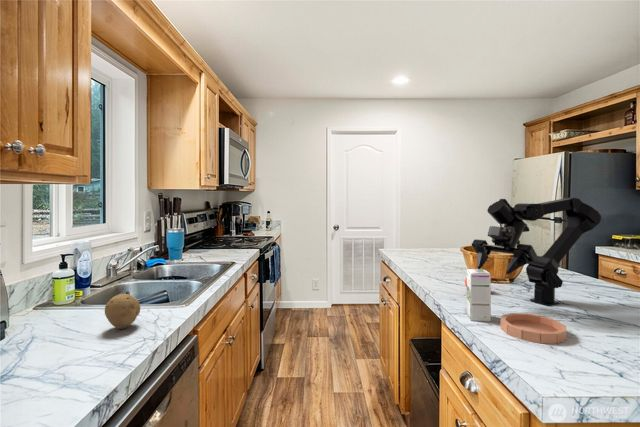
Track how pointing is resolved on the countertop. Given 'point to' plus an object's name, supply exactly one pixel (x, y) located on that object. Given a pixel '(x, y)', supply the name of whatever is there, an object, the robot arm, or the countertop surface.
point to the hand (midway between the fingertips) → (492, 270)
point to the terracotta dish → (534, 328)
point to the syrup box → (479, 295)
